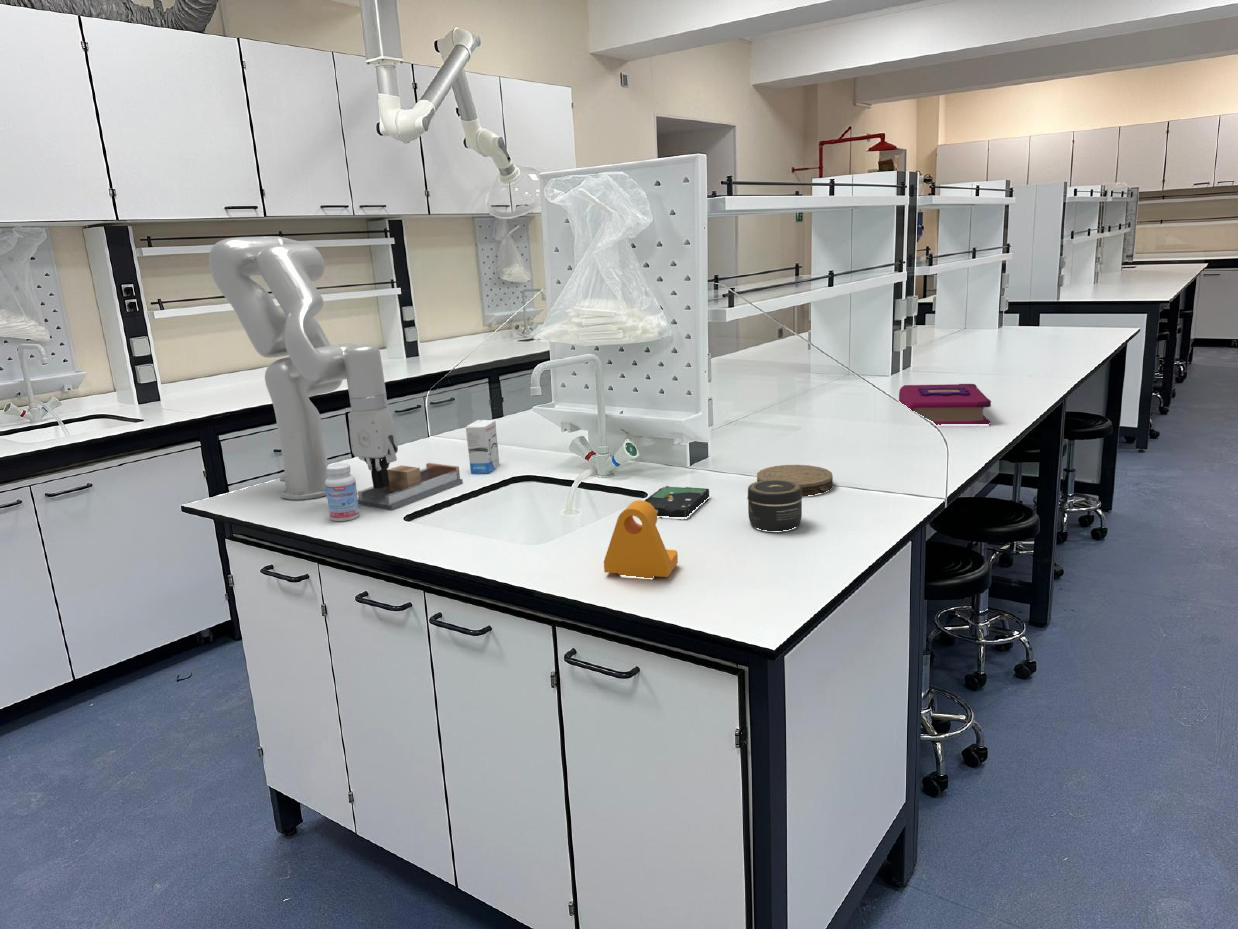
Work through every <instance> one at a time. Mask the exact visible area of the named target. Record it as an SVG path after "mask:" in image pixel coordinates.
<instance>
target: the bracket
mask: <svg viewBox="0 0 1238 929" xmlns="http://www.w3.org/2000/svg"><path fill="white" fill-rule="evenodd" d="M634 517H636V518H637V519H639V520H640V522H641V524H639V523H637V521H636V520H635V519H634ZM657 522H658V518H657V512H656V510H655V508H654V507H653V506H652V505H651V504H650V503H648V502H646V501H645V500H642V499H639V500H634V501H633V502H631V503H630V504H629V505H627V507H626V508H625V509H624V510H623V511H622V512H621V513H620V514H619V515H618V517H617V520H616V523H615V526H614V528H613V533H612V536H611V537H610V541H609V545H608V547H607V551H606V552H605V553H606V554H605V556H604V560H603V569H604V571H603V572H604V573H609V574H618V575H626V576H636V577H644V578H653V576H655V577H663V578H668V577H669V576H670V575H671V573H672V572H673V571H674V569H675V568H676V566H677V564H678V563H679V561H678V560H679V559H678V551H677V550H675V549H668V548H667V549H666V547H665V544H664V541H663V539H662V537H661V534H660V533H659V530H658V527H657V525H656V524H657Z"/></svg>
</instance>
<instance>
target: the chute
mask: <svg viewBox="0 0 1238 929" xmlns="http://www.w3.org/2000/svg"><path fill="white" fill-rule="evenodd" d="M425 466H426V467H425V468H422V469H420V474H421V483H419V484H416V485H413V486H410V487H408V488H405V489H402V490H399V491H397V492H393V491H390V485H389V486H387V487H384V488H381V489H377V488H374V487H373V486H371V487H367V488H363V489H361V490H358V491H357V497H358V505H359V504H360V506H365V507H372V508H377V509H383V510H387V511H388V510H389V511H395V510H397V509H400V508H402V507H406V506H407V505H410V504H413V503H415V502H419V501H420V500H423V499H425V498H428V497H431V496H433V495H436V494H439V493H442V492H444V491H446V490H449V489H451V488H454V487H457V486H460V485H462V484H463V483H464V482H463V479H462V478H461V475H460V466H457V465H449V464H440V463H432V462H428V463H426V464H425Z"/></svg>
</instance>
